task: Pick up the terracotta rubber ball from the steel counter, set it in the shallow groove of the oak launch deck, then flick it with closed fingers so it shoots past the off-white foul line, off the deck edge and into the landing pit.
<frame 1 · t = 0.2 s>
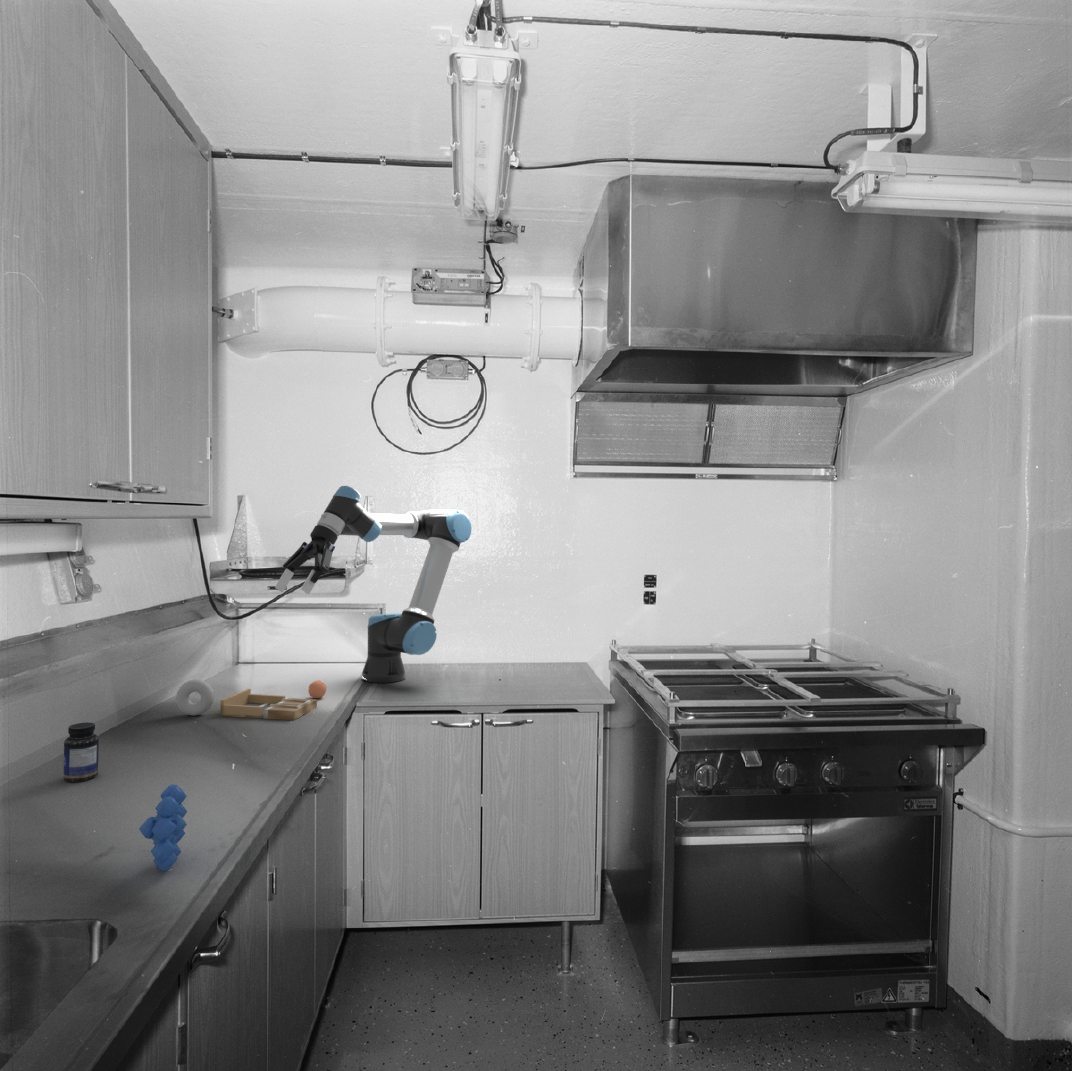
hand: (291, 590, 202), 35 cm above the counter, tool tilted 35°, fingers open, 13 cm apart
ball: (317, 689, 218), point 3 cm above the counter
pill bottle: (80, 778, 146), on the counter
launch deck: (291, 712, 200), on the counter
landing pit: (255, 710, 201), on the counter
grapes: (162, 865, 110), on the counter
donut: (194, 716, 195), on the counter
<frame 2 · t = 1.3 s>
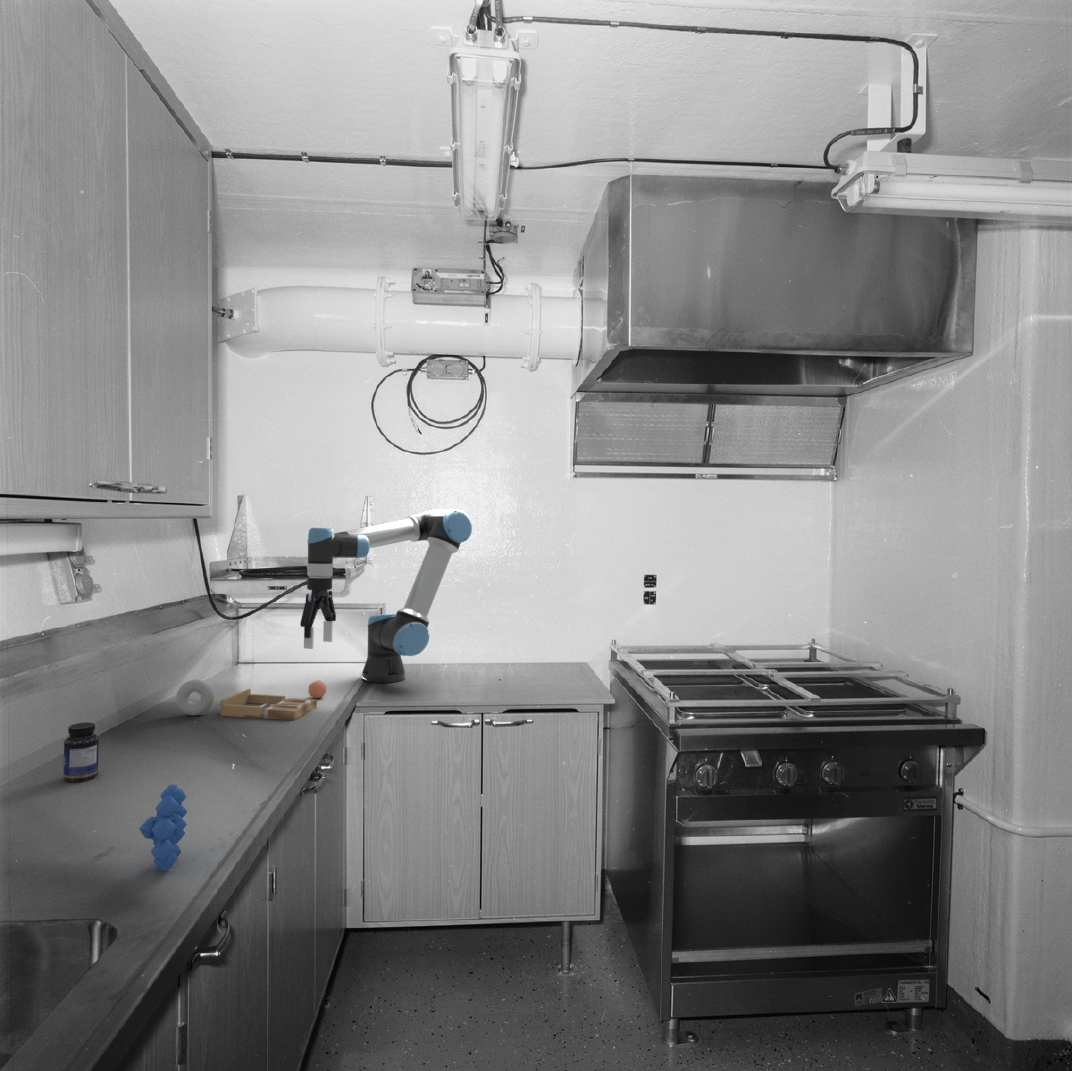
hand: (318, 645, 218), 17 cm above the counter, tool pointing down, fingers open, 13 cm apart
nothing on the counter moved.
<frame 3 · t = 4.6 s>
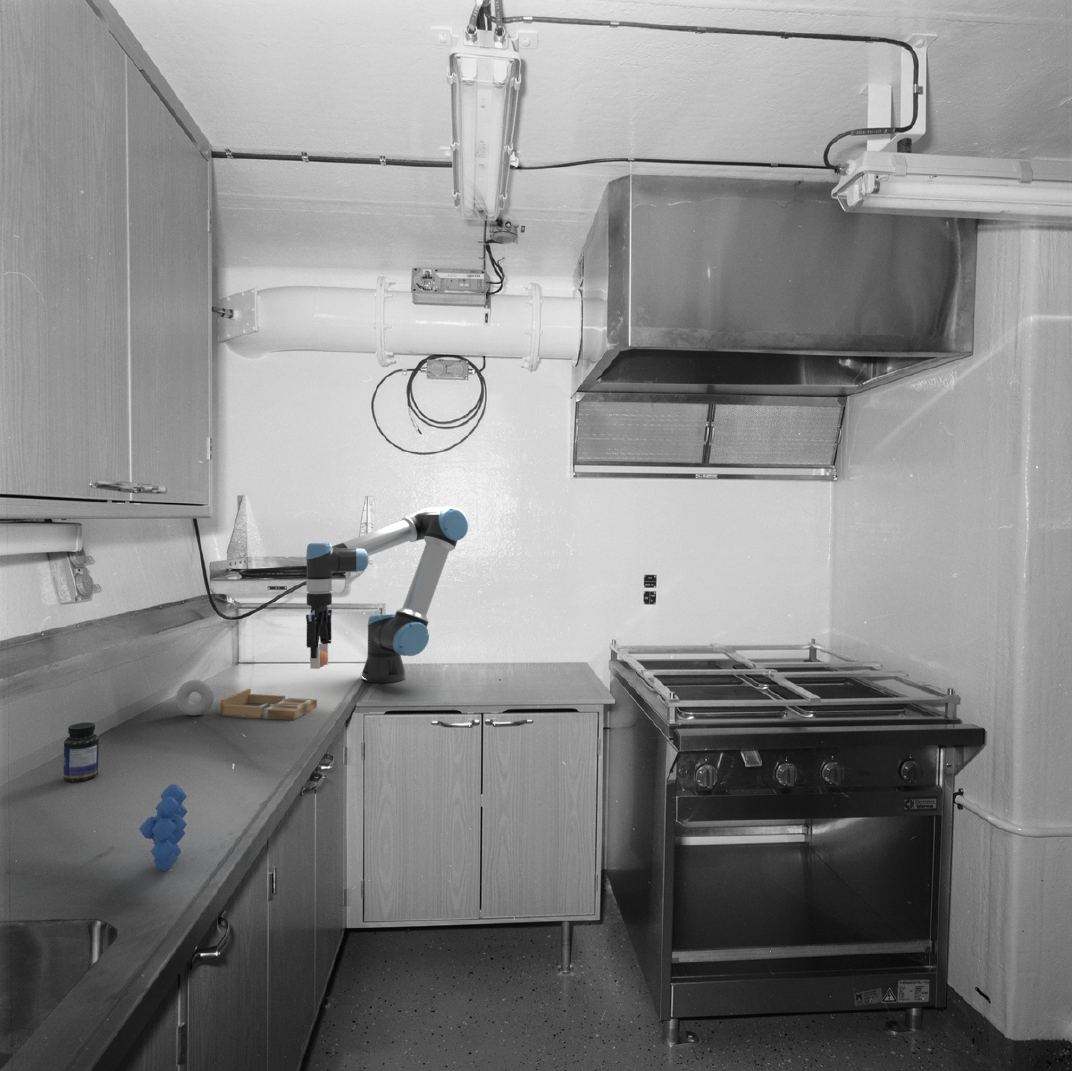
hand: (319, 666, 218), 10 cm above the counter, tool pointing down, fingers closed on ball, 5 cm apart
ball: (319, 658, 218), point 12 cm above the counter, touching gripper
everything else where it was.
when the fingers open (5 cm above the counter, at t = 7.3 s): ball drops 2 cm, resting on launch deck.
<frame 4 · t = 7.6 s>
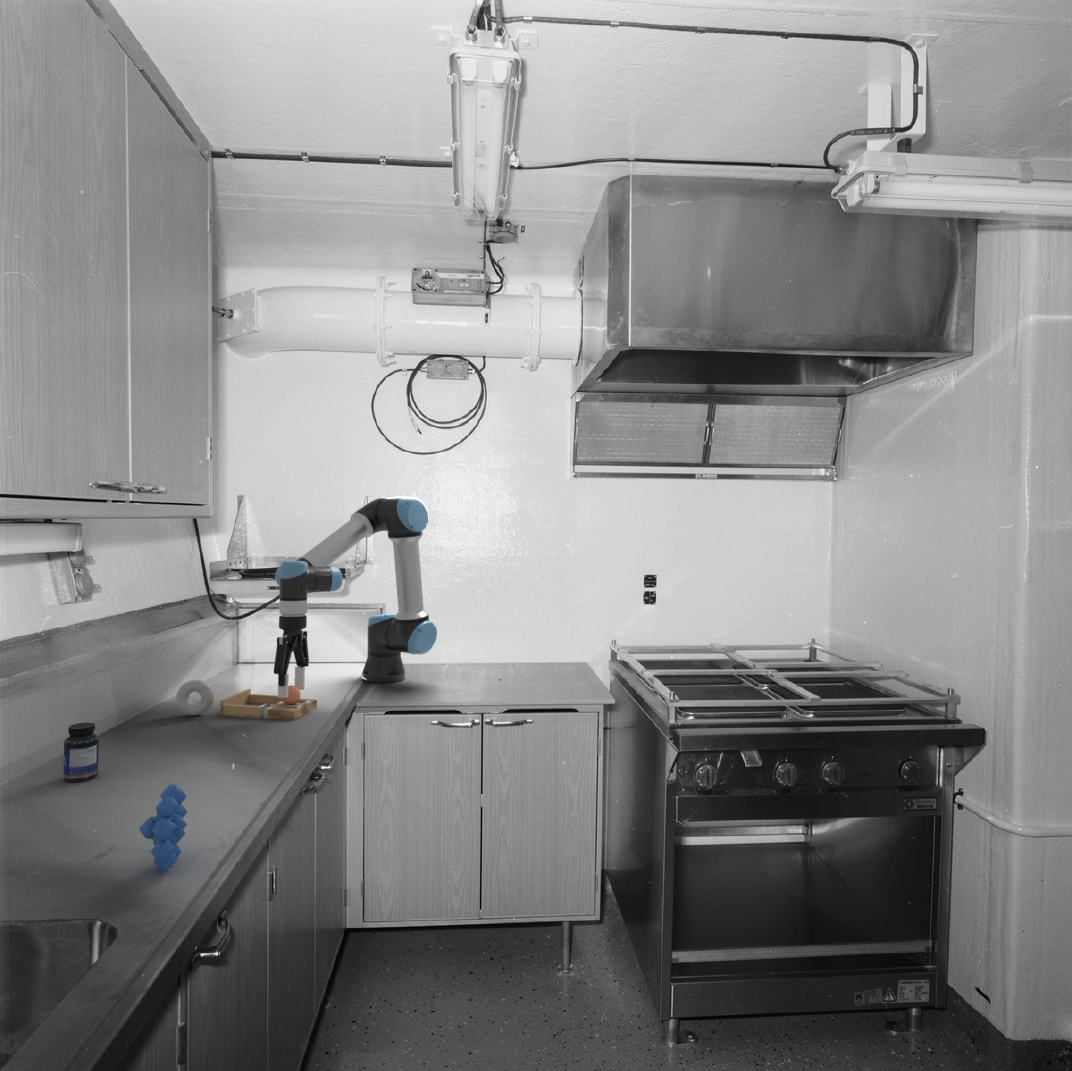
hand: (291, 693, 200), 6 cm above the counter, tool pointing down, fingers open, 9 cm apart
ball: (290, 695, 200), point 5 cm above the counter, touching launch deck
everything else where it was.
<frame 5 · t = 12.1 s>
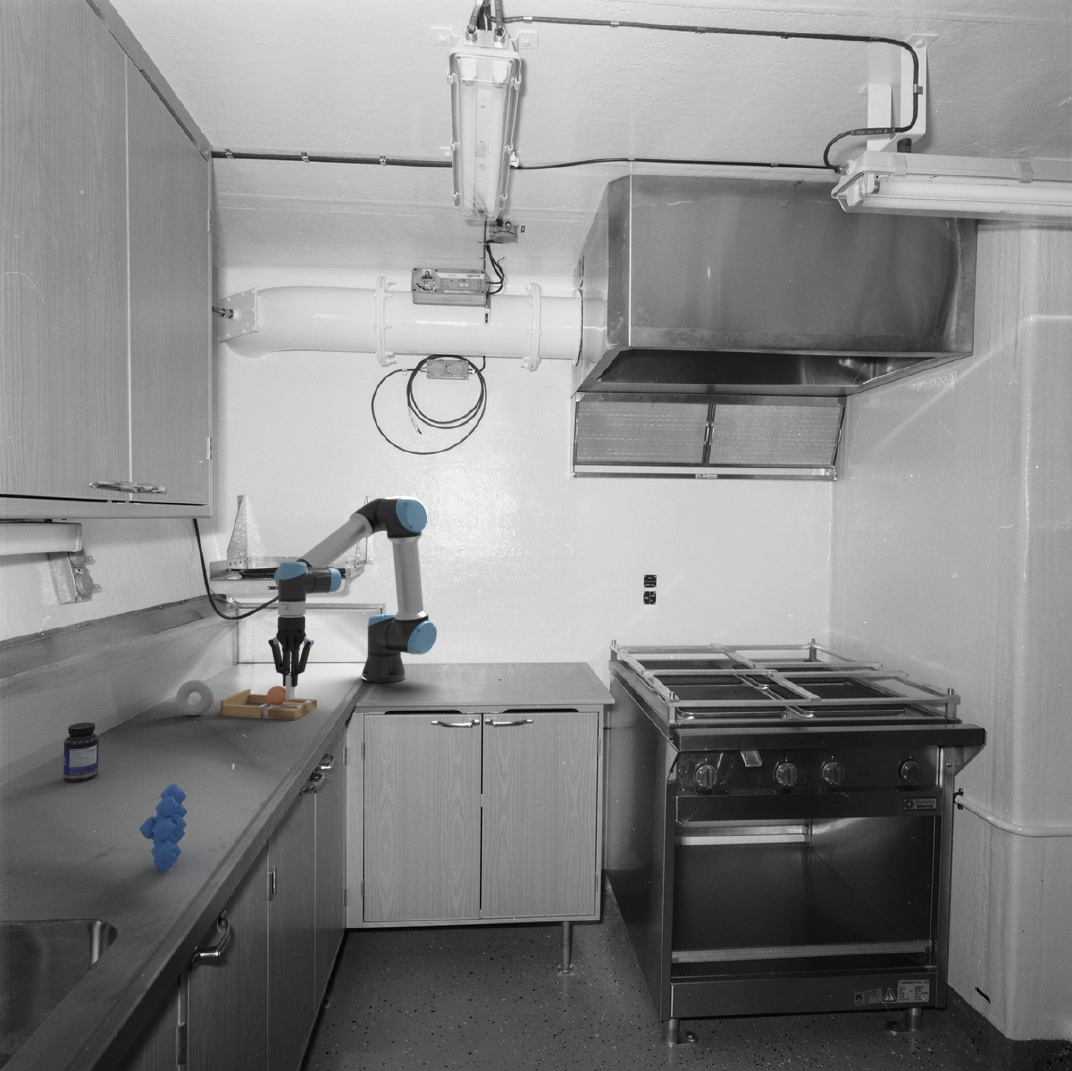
hand: (289, 697, 200), 4 cm above the counter, tool pointing down, fingers closed
ball: (277, 695, 199), point 5 cm above the counter, tilted 63°, touching launch deck
everything else where it was.
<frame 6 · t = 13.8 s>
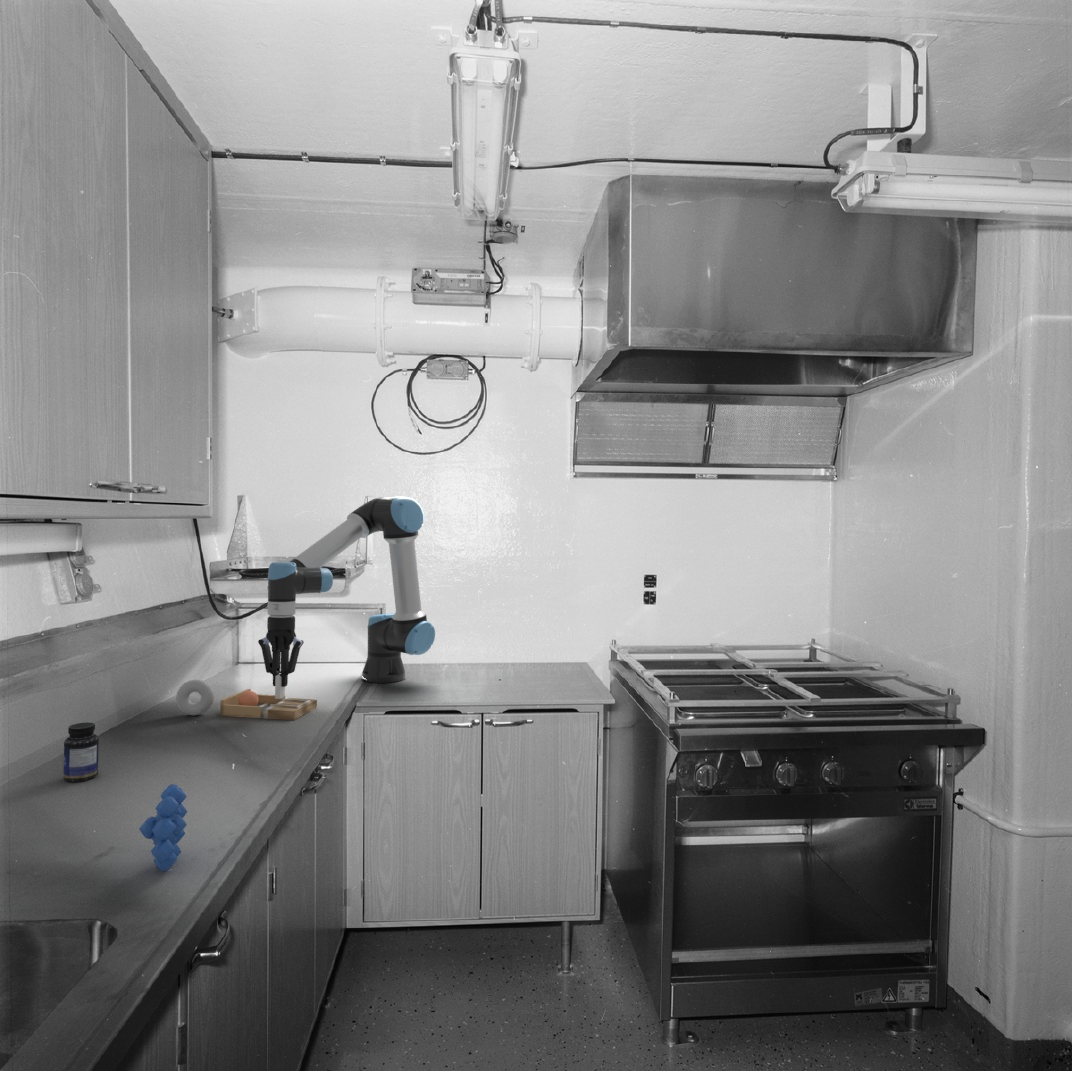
hand: (279, 697, 200), 4 cm above the counter, tool pointing down, fingers closed
ball: (248, 700, 200), point 3 cm above the counter, tilted 104°, touching landing pit
everything else where it was.
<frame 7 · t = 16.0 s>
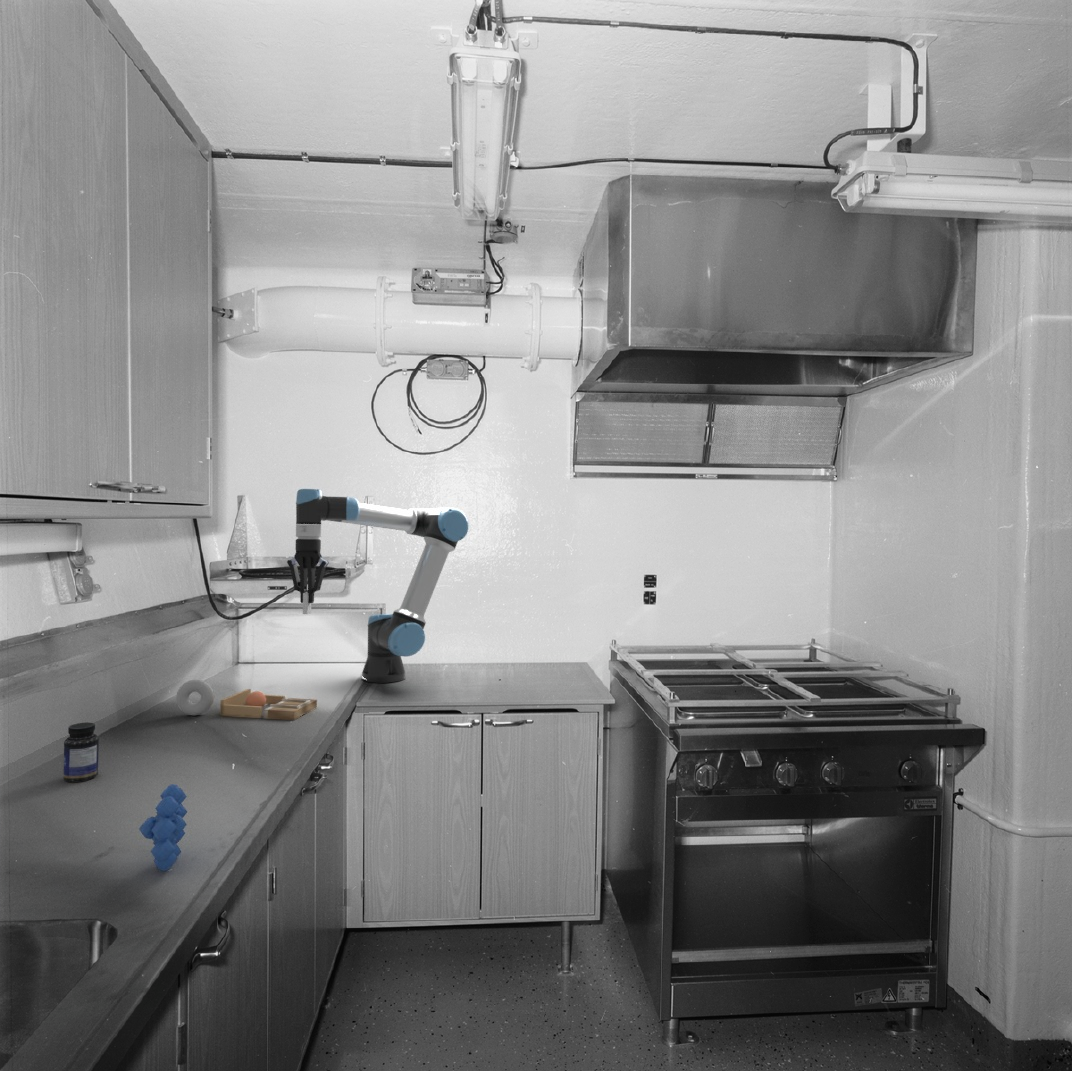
hand: (306, 613, 218), 26 cm above the counter, tool pointing down, fingers closed
ball: (256, 700, 200), point 3 cm above the counter, tilted 149°, touching landing pit
everything else where it was.
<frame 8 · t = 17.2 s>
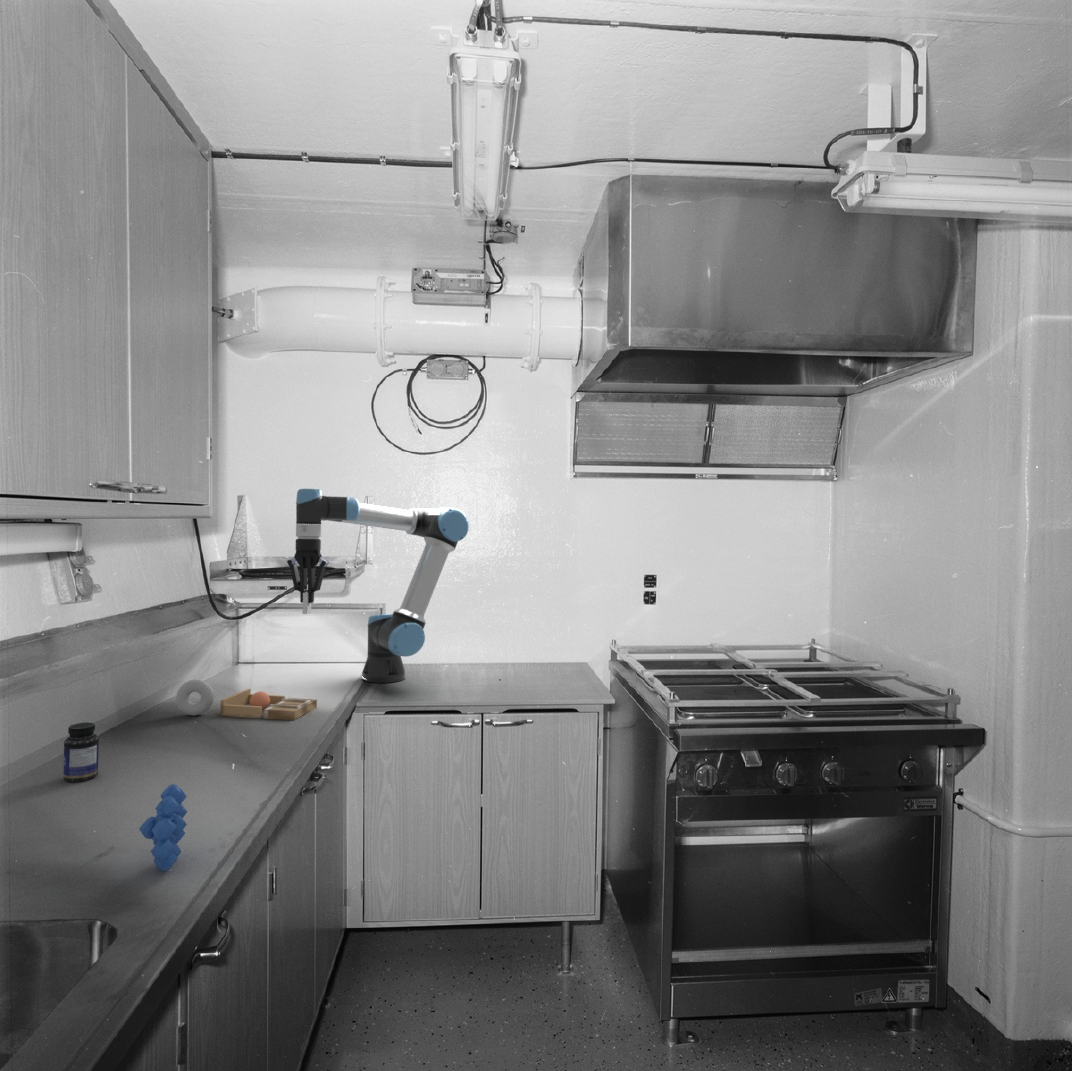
hand: (306, 613, 218), 26 cm above the counter, tool pointing down, fingers closed
ball: (259, 701, 199), point 3 cm above the counter, tilted 158°, touching landing pit
everything else where it was.
at the end: ball inside the target area (3.4 cm from its centre), point 3.3 cm above the counter; ball moved 21.3 cm from its start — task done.
